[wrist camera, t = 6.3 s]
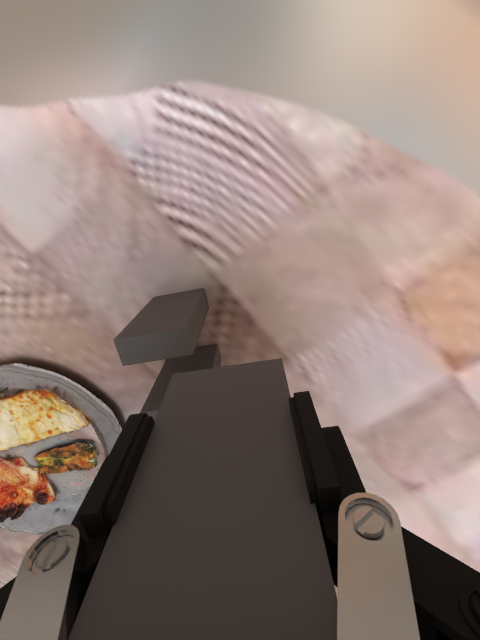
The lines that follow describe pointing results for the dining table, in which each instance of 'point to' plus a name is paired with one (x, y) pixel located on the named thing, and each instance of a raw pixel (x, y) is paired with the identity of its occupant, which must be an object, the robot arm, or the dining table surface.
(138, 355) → the domino
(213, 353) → the domino
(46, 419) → the food plate
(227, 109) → the dining table surface
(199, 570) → the domino
